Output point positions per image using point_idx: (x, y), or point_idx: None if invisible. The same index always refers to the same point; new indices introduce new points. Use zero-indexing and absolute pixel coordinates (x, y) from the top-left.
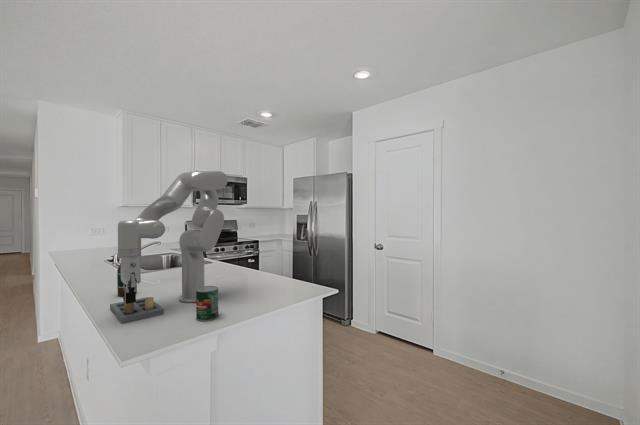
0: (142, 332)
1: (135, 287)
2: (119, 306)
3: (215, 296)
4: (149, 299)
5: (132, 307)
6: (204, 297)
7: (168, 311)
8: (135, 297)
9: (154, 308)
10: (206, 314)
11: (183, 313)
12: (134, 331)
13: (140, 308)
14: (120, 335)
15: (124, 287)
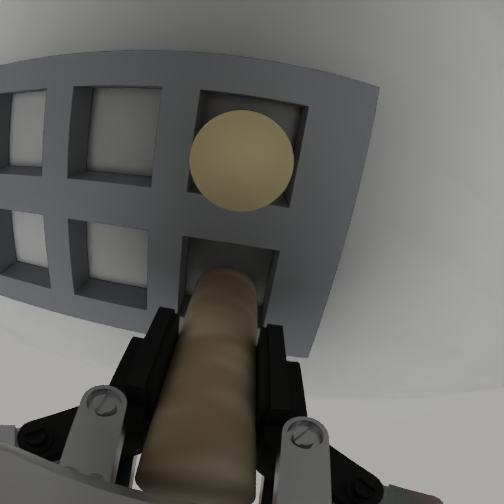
0: (490, 306)
1: (328, 471)
2: (4, 251)
3: None
4: (289, 178)
5: (255, 307)
6: None
7: (329, 35)
8: (283, 355)
9: (223, 93)
10: None
11: (451, 22)
12: (454, 324)
13: (185, 200)
14: (435, 368)
15: (132, 474)
